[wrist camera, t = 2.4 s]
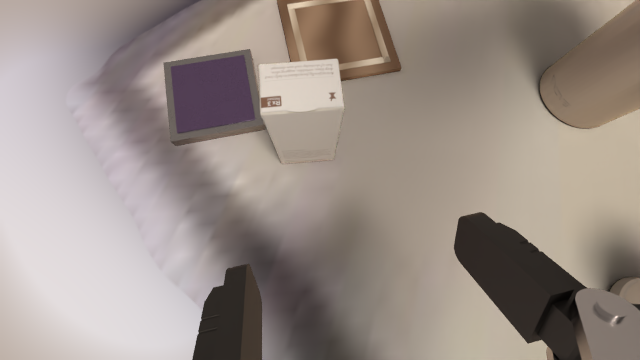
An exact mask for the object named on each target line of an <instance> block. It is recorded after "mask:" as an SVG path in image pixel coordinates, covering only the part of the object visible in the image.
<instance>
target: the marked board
mask: <svg viewBox="0 0 640 360" xmlns="http://www.w3.org/2000/svg"><path fill="white" fill-rule="evenodd" d="M277 3H278V7H279V12H280V16H281V21H282V25H283V30H284V34H285V38H286V43H287V47H288V52H289V56H290V61H291V62H299V61H313V60H326V59H338V62H339V71H340V79H341V81H343V80H349V79H355V78H361V77H367V76H372V75H378V74H384V73H390V72H396V71H400V70H401V65H400V62H399V59H398V56H397V53H396V50H395V48H394V45H393V42H392V39H391V36H390V33H389V30H388V27H387V24H386V21H385V18H384V15H383V12H382V9H381V6H380V3H379V0H277Z"/></svg>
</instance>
